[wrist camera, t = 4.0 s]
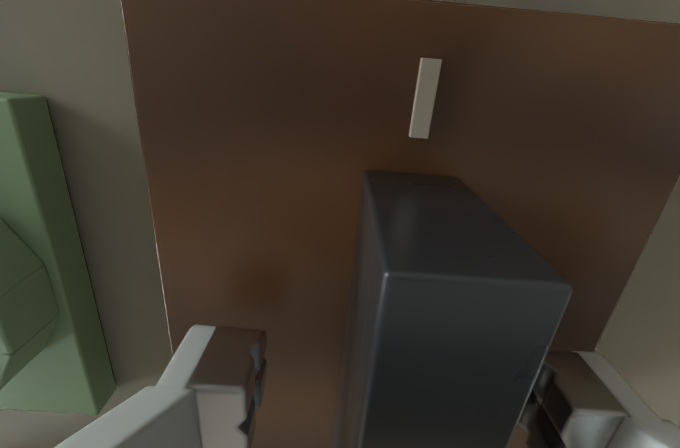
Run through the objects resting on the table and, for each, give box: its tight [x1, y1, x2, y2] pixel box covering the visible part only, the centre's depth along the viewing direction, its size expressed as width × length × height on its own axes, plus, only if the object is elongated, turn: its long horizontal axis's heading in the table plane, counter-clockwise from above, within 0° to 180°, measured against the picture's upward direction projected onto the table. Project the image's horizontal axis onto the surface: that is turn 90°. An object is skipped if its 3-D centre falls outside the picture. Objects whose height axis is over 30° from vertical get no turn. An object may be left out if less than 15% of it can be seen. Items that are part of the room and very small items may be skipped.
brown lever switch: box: [120, 0, 680, 448], centre depth 10 cm, size 14×11×3 cm
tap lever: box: [334, 170, 572, 448], centre depth 7 cm, size 8×2×4 cm, turn 175°
